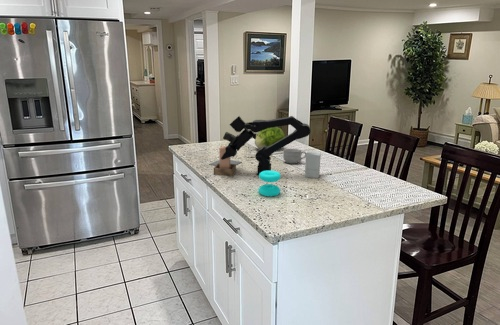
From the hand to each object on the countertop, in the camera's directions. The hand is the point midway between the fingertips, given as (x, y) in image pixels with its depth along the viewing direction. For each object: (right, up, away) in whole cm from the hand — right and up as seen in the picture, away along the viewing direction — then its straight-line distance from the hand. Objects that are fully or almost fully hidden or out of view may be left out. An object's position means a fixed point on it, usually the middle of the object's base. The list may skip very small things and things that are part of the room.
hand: (222, 157), depth 202 cm
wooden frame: (+1, -8, +2) cm, 8 cm away
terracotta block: (+1, -7, +2) cm, 7 cm away
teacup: (+41, -3, +23) cm, 47 cm away
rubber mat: (+1, -3, +19) cm, 19 cm away
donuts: (+24, -17, -28) cm, 41 cm away
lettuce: (+28, +6, +55) cm, 62 cm away
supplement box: (+48, -10, -2) cm, 49 cm away
